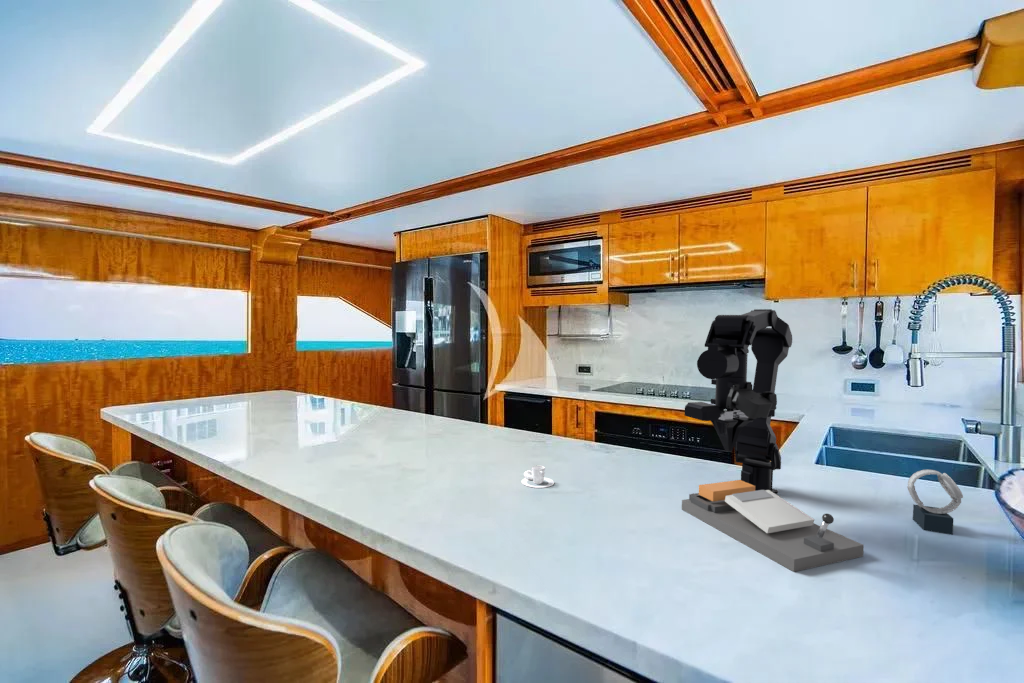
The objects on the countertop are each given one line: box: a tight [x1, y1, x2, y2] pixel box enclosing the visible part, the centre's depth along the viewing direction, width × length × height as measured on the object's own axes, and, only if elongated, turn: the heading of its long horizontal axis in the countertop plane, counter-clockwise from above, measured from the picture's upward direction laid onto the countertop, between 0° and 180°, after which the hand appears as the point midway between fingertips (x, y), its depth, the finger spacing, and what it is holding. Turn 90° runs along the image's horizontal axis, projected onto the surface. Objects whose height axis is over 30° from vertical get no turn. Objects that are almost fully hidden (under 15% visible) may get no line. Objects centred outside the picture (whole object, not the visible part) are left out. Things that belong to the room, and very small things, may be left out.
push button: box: [698, 479, 755, 501], centre depth 97 cm, size 11×4×2 cm, turn 110°
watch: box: [907, 468, 964, 535], centre depth 92 cm, size 6×8×11 cm
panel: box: [681, 492, 865, 573], centre depth 89 cm, size 16×26×3 cm, turn 20°
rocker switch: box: [725, 490, 815, 533], centre depth 88 cm, size 11×10×1 cm
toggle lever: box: [817, 513, 835, 538], centre depth 78 cm, size 2×2×5 cm
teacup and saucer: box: [520, 464, 555, 489], centre depth 114 cm, size 9×8×4 cm
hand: (728, 451), depth 97 cm, fingers closed
